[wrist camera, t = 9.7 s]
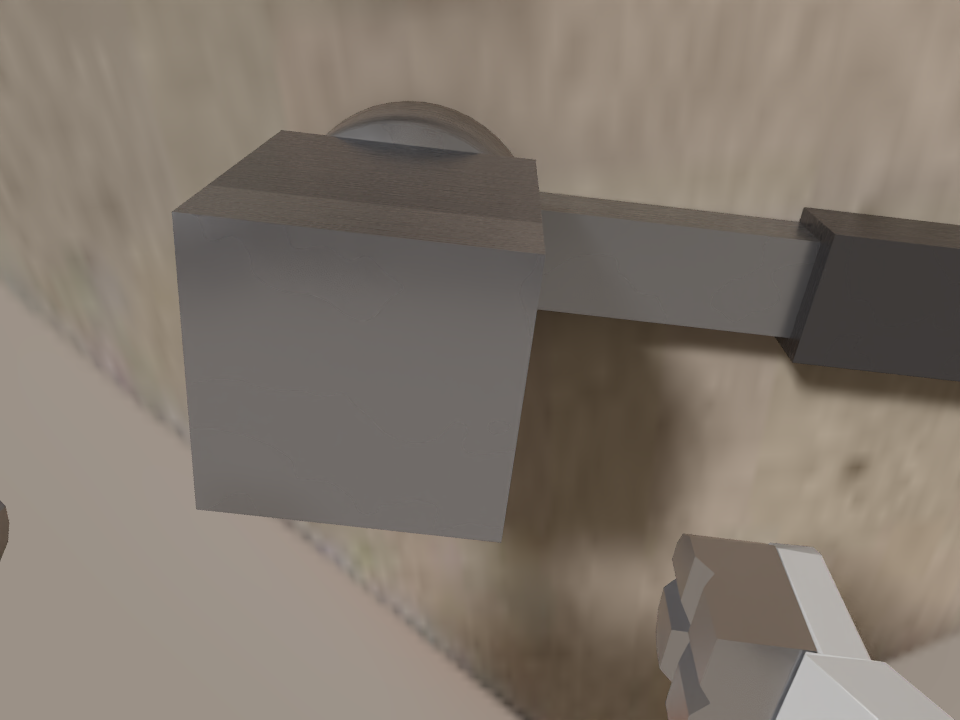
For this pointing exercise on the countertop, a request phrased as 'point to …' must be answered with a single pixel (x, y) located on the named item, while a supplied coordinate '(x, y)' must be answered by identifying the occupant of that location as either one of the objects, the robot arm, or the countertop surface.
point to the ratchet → (732, 264)
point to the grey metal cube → (360, 332)
